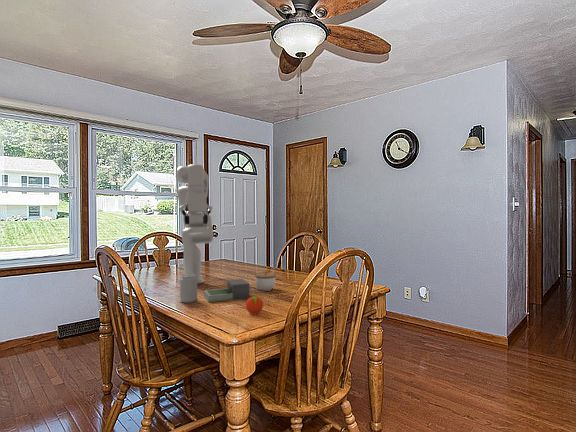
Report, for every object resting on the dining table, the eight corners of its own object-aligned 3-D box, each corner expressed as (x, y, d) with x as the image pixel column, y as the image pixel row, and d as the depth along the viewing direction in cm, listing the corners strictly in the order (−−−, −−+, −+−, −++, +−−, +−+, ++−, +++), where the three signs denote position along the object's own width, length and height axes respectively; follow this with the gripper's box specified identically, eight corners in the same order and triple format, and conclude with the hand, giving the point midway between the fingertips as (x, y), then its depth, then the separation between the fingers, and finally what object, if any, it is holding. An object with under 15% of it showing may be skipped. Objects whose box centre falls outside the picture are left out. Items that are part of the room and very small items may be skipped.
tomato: (264, 316, 141) (264, 298, 141) (247, 317, 140) (246, 299, 140) (261, 310, 149) (261, 293, 149) (245, 311, 148) (244, 294, 147)
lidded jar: (277, 287, 193) (277, 269, 193) (274, 291, 182) (274, 273, 182) (257, 286, 194) (257, 269, 194) (253, 291, 183) (253, 273, 183)
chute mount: (204, 296, 173) (204, 282, 173) (242, 292, 181) (242, 278, 180) (208, 302, 162) (208, 287, 162) (249, 298, 169) (249, 283, 169)
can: (192, 303, 160) (192, 276, 160) (177, 302, 162) (176, 276, 162) (200, 299, 168) (199, 273, 168) (185, 298, 169) (184, 273, 169)
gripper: (208, 190, 188) (208, 223, 188) (176, 189, 177) (176, 224, 177) (215, 189, 182) (215, 223, 182) (182, 188, 171) (182, 224, 171)
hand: (196, 223), depth 179 cm, fingers open, 9 cm apart
